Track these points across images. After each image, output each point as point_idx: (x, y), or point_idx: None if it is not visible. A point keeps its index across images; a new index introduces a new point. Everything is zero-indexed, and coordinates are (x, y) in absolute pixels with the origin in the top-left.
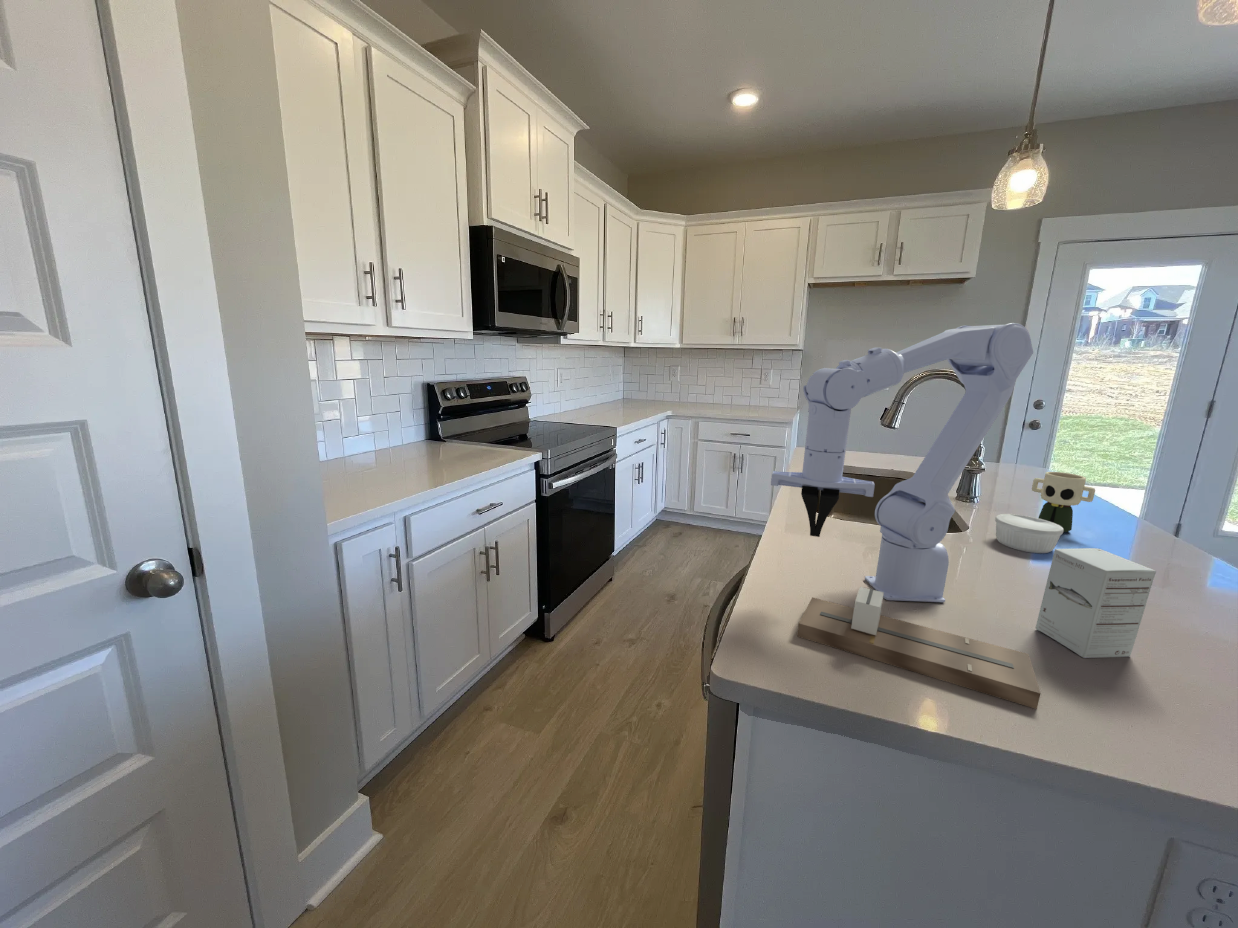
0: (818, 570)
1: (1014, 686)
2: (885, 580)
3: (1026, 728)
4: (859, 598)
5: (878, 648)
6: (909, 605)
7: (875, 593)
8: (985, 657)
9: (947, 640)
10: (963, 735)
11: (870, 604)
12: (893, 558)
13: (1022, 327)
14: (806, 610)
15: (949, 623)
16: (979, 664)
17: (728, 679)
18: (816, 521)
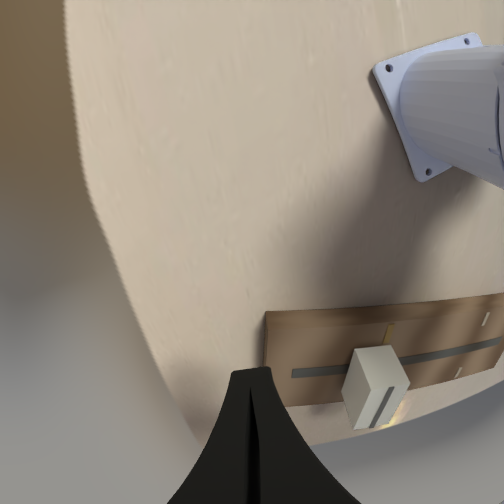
0: (240, 69)
1: (480, 371)
2: (433, 151)
3: (462, 384)
4: (361, 421)
5: None
6: (453, 176)
7: (393, 394)
8: (484, 343)
9: (464, 332)
10: (410, 418)
11: (375, 424)
12: (485, 179)
13: None
14: None
15: (491, 218)
16: (471, 359)
17: None
18: (253, 403)
